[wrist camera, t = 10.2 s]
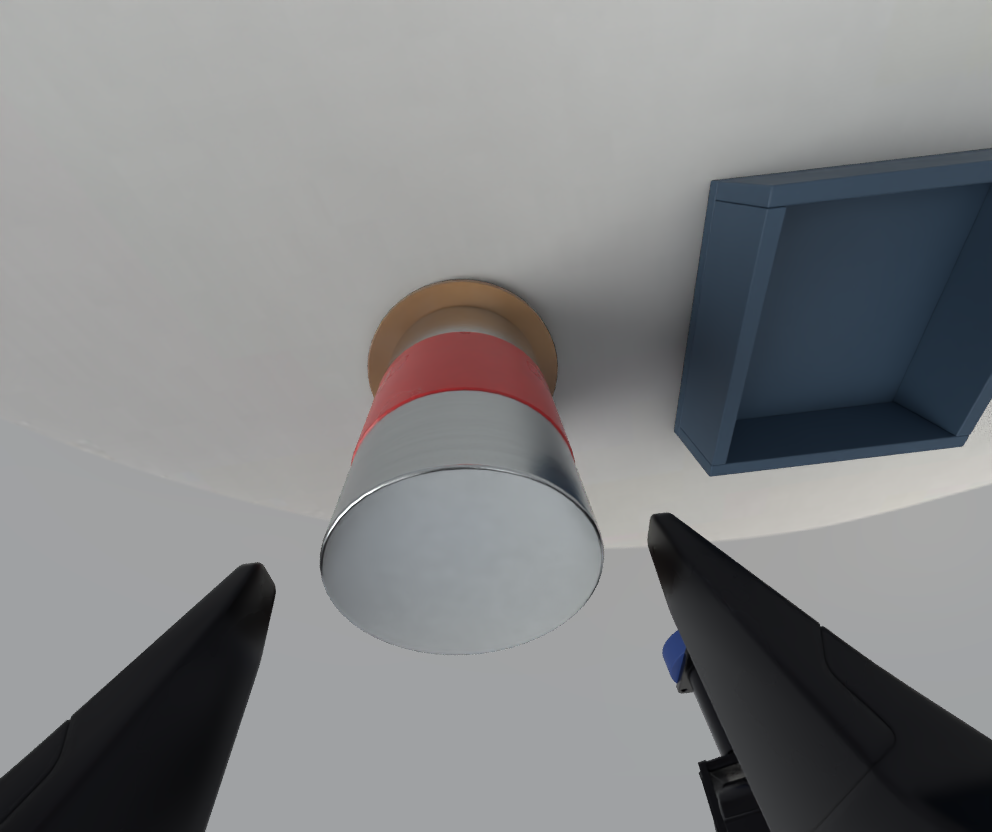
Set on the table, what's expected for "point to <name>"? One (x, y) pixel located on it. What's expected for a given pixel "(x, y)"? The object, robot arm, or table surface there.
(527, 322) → the coaster
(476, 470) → the can
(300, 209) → the table surface
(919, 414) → the crate
